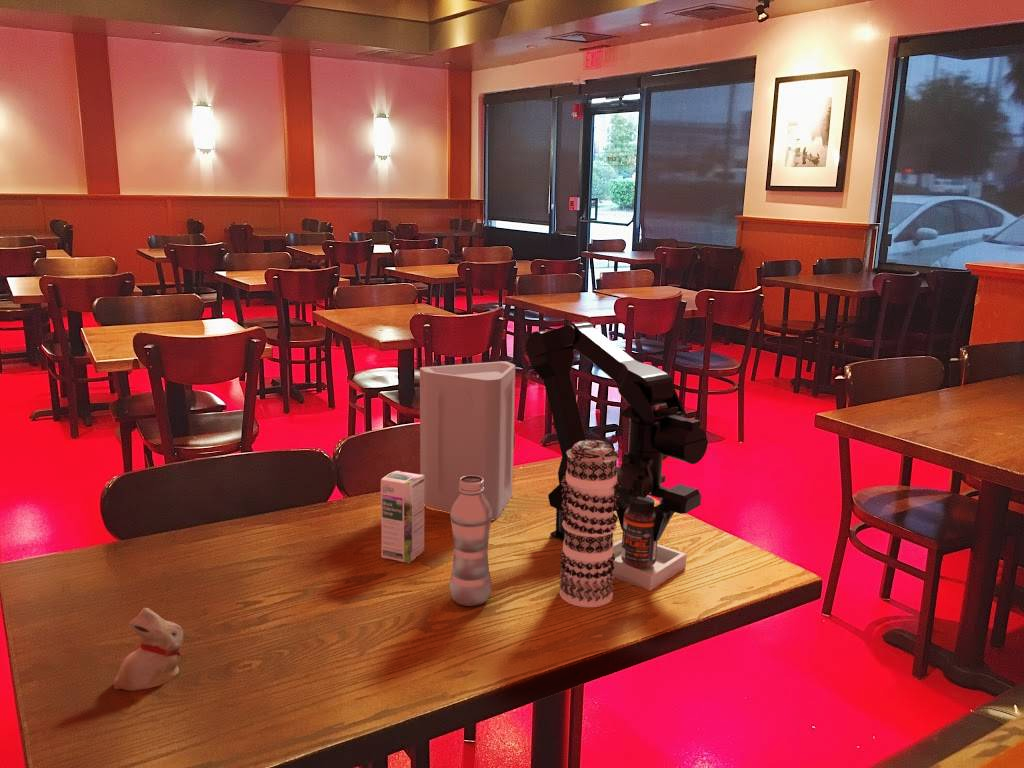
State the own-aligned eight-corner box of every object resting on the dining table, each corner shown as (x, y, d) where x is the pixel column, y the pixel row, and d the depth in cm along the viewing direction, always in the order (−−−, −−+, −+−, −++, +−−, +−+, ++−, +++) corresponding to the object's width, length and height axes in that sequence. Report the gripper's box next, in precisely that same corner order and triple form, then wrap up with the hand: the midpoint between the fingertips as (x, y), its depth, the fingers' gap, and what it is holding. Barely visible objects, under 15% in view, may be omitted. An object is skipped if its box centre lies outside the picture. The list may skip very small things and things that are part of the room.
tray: (591, 568, 139) (591, 554, 139) (628, 547, 148) (629, 534, 147) (649, 590, 132) (650, 576, 132) (685, 567, 141) (686, 553, 140)
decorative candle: (582, 575, 137) (589, 431, 131) (626, 595, 130) (635, 445, 125) (545, 593, 131) (550, 443, 125) (589, 614, 124) (597, 457, 118)
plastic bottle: (497, 594, 130) (499, 475, 125) (481, 614, 123) (483, 489, 119) (459, 587, 132) (460, 469, 127) (442, 607, 125) (442, 483, 121)
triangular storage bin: (445, 527, 155) (445, 383, 148) (419, 501, 168) (418, 367, 162) (535, 513, 163) (539, 375, 157) (503, 488, 176) (506, 361, 170)
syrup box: (380, 558, 142) (378, 478, 138) (397, 545, 147) (396, 468, 144) (409, 564, 139) (408, 484, 136) (425, 551, 145) (425, 473, 141)
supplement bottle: (619, 567, 137) (622, 503, 135) (622, 552, 143) (625, 491, 141) (655, 570, 136) (659, 506, 134) (656, 556, 142) (660, 494, 140)
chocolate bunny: (175, 690, 103) (169, 618, 101) (110, 692, 103) (103, 619, 101) (188, 665, 109) (183, 597, 107) (127, 667, 108) (120, 598, 106)
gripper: (571, 445, 135) (567, 533, 139) (670, 472, 123) (663, 568, 127) (609, 432, 143) (604, 515, 147) (706, 455, 132) (698, 546, 135)
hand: (640, 535), depth 139 cm, fingers open, 6 cm apart
